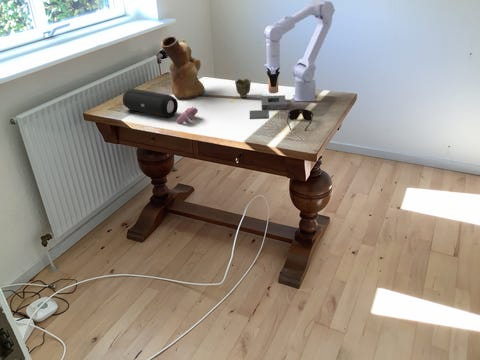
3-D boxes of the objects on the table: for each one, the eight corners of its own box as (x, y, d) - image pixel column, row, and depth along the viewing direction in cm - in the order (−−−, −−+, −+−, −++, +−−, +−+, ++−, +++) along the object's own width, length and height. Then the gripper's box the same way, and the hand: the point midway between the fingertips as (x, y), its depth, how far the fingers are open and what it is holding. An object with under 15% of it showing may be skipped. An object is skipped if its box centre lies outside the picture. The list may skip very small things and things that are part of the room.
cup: (251, 94, 216) (251, 78, 212) (250, 99, 210) (250, 83, 206) (236, 94, 217) (235, 78, 213) (235, 99, 211) (234, 83, 207)
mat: (267, 111, 197) (267, 109, 197) (268, 118, 190) (268, 117, 190) (249, 111, 198) (249, 110, 197) (249, 118, 191) (249, 117, 191)
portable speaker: (123, 112, 204) (119, 92, 199) (137, 105, 211) (133, 85, 206) (167, 121, 193) (163, 100, 188) (180, 113, 200) (177, 92, 195)
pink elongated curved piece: (183, 128, 190) (187, 116, 185) (175, 122, 191) (179, 109, 186) (196, 119, 197) (200, 107, 192) (188, 113, 198) (192, 101, 193)
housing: (284, 100, 207) (284, 95, 206) (286, 109, 198) (286, 104, 196) (261, 101, 208) (261, 96, 206) (261, 110, 198) (261, 105, 197)
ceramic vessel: (211, 91, 222) (205, 30, 206) (184, 106, 207) (176, 41, 191) (186, 86, 230) (179, 27, 214) (158, 101, 214) (149, 38, 198)
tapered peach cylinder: (278, 89, 201) (278, 70, 196) (278, 93, 197) (278, 73, 192) (268, 90, 201) (268, 70, 196) (268, 93, 198) (268, 73, 193)
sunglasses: (313, 119, 188) (313, 109, 185) (310, 134, 179) (311, 124, 176) (288, 118, 190) (288, 108, 187) (284, 133, 181) (284, 122, 178)
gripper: (264, 50, 197) (264, 79, 204) (263, 59, 185) (264, 90, 192) (280, 49, 196) (280, 79, 203) (280, 59, 184) (280, 90, 191)
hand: (273, 84), depth 197 cm, fingers closed on tapered peach cylinder, 4 cm apart
